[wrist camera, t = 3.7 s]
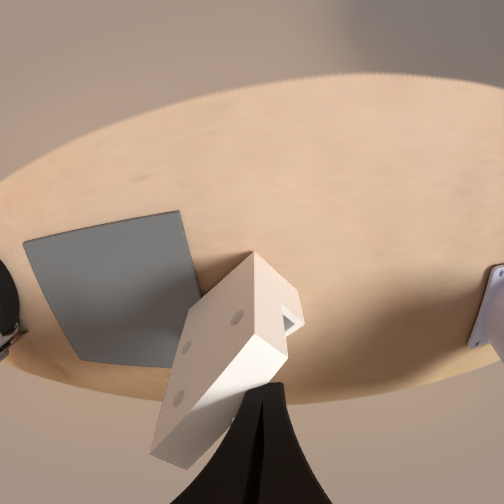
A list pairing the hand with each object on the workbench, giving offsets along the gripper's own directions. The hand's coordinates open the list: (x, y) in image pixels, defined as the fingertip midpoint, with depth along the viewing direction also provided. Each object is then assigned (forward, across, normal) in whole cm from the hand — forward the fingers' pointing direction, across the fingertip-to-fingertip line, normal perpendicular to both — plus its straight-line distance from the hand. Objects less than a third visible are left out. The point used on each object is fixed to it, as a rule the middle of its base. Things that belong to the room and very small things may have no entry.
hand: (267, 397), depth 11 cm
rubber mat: (+8, +11, 0) cm, 14 cm away
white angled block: (+7, +2, 0) cm, 8 cm away
